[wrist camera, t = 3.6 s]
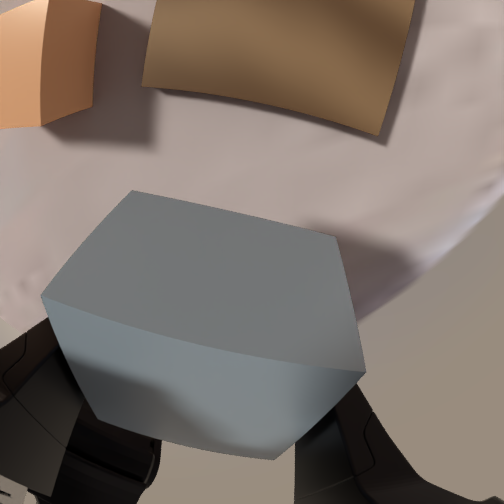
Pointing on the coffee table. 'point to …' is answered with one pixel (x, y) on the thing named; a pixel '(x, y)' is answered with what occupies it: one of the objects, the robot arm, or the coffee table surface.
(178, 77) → the walnut base plate
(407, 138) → the coffee table surface
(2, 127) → the terracotta block
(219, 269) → the slate-blue block
